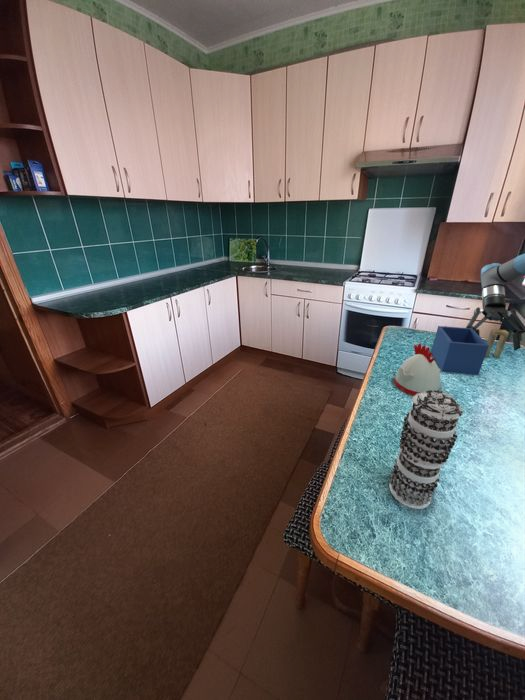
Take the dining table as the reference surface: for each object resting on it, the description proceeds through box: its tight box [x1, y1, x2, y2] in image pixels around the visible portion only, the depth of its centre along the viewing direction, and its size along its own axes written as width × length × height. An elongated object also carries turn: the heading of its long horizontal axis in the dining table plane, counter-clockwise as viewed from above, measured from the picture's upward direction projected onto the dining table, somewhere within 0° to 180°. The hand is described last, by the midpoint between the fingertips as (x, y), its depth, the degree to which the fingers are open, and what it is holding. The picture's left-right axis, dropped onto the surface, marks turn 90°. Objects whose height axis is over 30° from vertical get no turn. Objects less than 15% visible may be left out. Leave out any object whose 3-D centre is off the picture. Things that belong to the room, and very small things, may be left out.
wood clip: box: [485, 328, 510, 359], centre depth 115 cm, size 5×3×11 cm, turn 75°
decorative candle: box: [388, 390, 463, 510], centre depth 58 cm, size 9×9×25 cm
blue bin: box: [430, 325, 489, 376], centre depth 111 cm, size 16×12×12 cm
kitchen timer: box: [393, 343, 442, 396], centre depth 97 cm, size 14×14×15 cm
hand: (496, 347), depth 114 cm, fingers open, 13 cm apart
